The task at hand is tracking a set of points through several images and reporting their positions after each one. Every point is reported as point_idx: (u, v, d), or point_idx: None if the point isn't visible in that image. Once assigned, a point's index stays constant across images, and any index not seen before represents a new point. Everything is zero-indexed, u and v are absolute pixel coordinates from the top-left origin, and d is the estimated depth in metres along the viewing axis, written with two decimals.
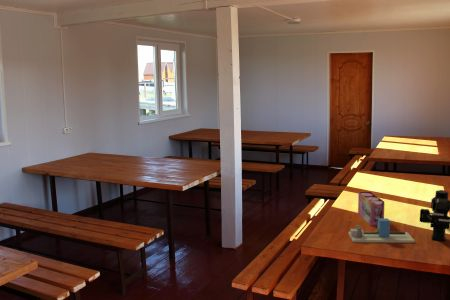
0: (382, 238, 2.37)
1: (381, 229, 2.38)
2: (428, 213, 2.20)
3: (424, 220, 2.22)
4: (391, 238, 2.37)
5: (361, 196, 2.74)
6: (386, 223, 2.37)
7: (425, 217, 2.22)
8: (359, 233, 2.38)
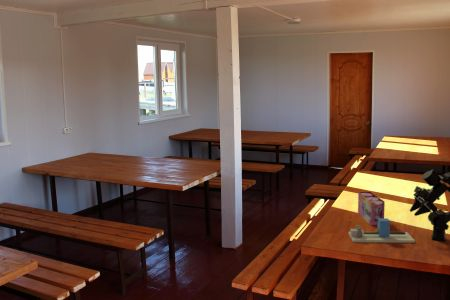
0: (382, 238, 2.37)
1: (381, 229, 2.38)
2: (415, 200, 2.40)
3: None
4: (391, 238, 2.37)
5: (361, 196, 2.75)
6: (386, 223, 2.37)
7: None
8: (359, 233, 2.38)
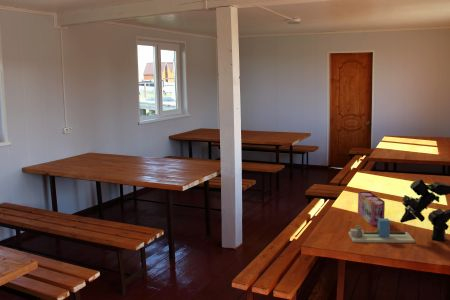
0: (382, 238, 2.37)
1: (381, 229, 2.38)
2: (405, 210, 2.39)
3: None
4: (391, 238, 2.37)
5: (361, 196, 2.75)
6: (386, 223, 2.37)
7: None
8: (359, 233, 2.38)
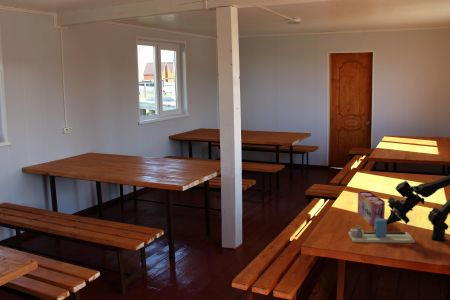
0: (382, 238, 2.37)
1: (378, 229, 2.38)
2: (391, 212, 2.39)
3: None
4: (391, 238, 2.37)
5: (361, 196, 2.75)
6: (383, 223, 2.37)
7: None
8: (359, 233, 2.38)
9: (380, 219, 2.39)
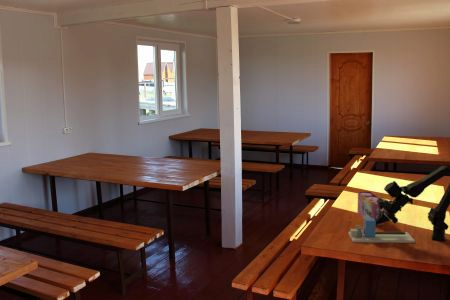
0: (382, 238, 2.37)
1: (367, 229, 2.38)
2: (380, 212, 2.40)
3: None
4: (391, 238, 2.37)
5: (361, 196, 2.75)
6: (372, 223, 2.37)
7: None
8: (359, 233, 2.38)
9: (369, 219, 2.40)
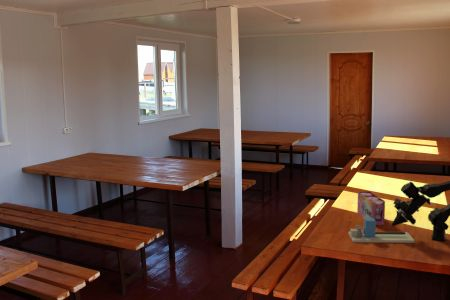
0: (382, 238, 2.37)
1: (367, 229, 2.38)
2: (397, 213, 2.39)
3: None
4: (391, 238, 2.37)
5: (361, 196, 2.75)
6: (372, 223, 2.37)
7: None
8: (359, 233, 2.38)
9: (369, 219, 2.40)
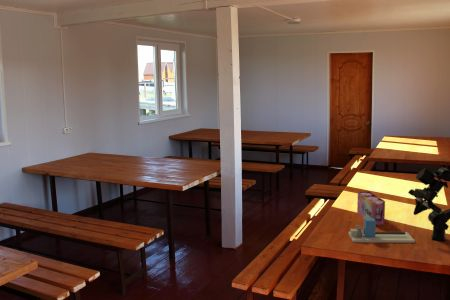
0: (382, 238, 2.37)
1: (367, 229, 2.38)
2: (417, 202, 2.36)
3: None
4: (391, 238, 2.37)
5: (361, 196, 2.75)
6: (372, 223, 2.37)
7: None
8: (359, 233, 2.38)
9: (369, 219, 2.40)
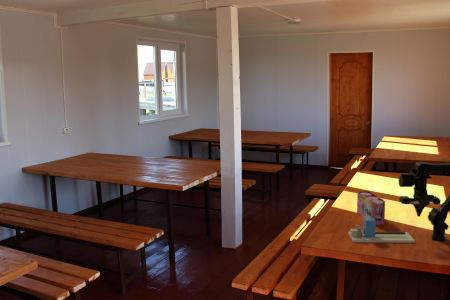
0: (382, 238, 2.37)
1: (367, 229, 2.38)
2: (418, 206, 2.34)
3: None
4: (391, 238, 2.37)
5: (360, 196, 2.75)
6: (372, 223, 2.37)
7: None
8: (359, 233, 2.38)
9: (369, 219, 2.40)
